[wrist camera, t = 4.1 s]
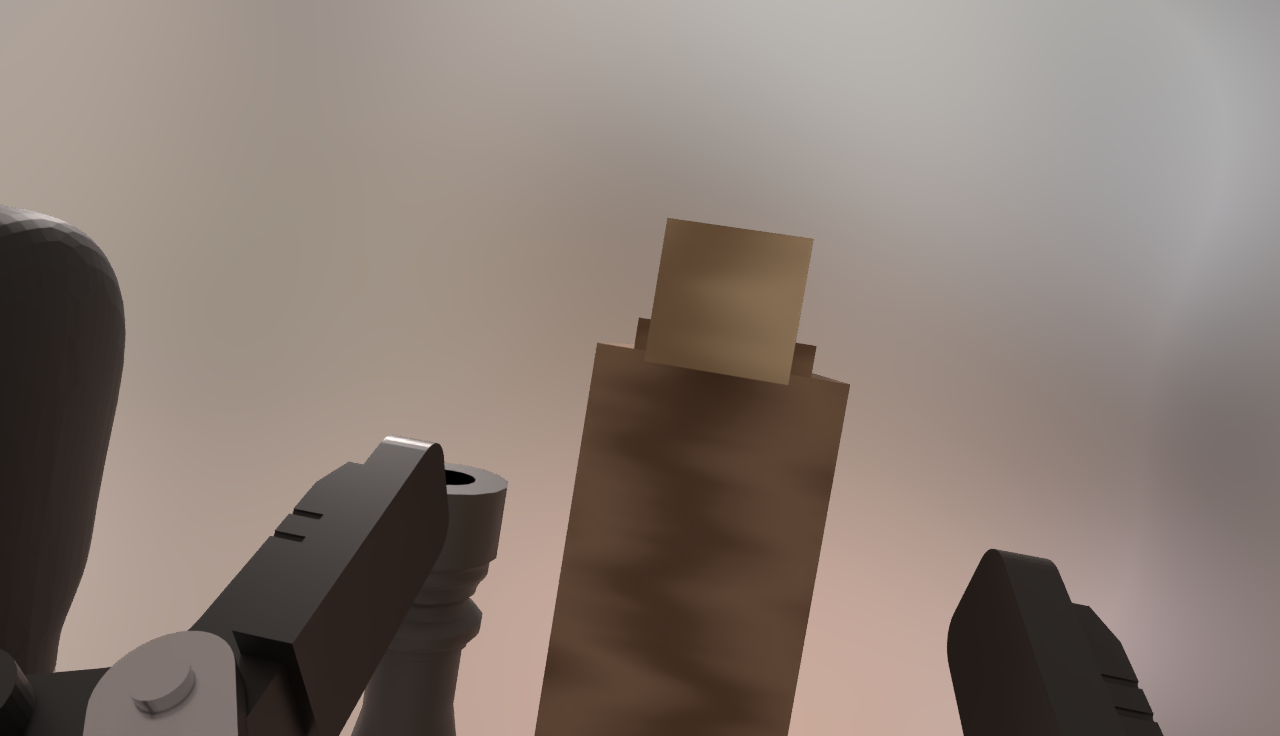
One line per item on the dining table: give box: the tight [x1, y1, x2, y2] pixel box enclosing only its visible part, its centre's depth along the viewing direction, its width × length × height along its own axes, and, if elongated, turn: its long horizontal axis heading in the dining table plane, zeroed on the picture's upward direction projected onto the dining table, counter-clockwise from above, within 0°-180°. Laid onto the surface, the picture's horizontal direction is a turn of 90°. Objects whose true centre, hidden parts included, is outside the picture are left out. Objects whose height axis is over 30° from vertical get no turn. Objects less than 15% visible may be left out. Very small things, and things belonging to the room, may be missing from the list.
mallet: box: [644, 218, 813, 385], centre depth 23 cm, size 5×19×5 cm, turn 173°
